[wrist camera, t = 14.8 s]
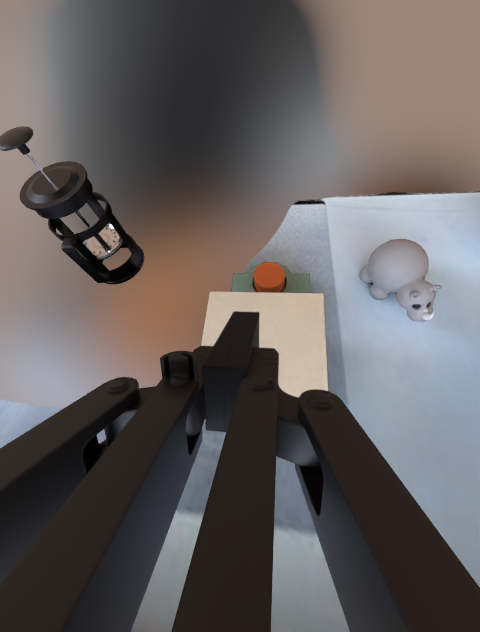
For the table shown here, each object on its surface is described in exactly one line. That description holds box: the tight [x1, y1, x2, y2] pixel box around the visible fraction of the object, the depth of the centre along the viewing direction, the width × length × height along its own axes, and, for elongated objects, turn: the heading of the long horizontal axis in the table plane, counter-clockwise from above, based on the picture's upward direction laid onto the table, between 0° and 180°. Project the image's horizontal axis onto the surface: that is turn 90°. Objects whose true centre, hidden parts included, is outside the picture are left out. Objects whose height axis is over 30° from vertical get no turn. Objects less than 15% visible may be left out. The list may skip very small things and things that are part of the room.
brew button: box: [253, 262, 285, 293], centre depth 39 cm, size 4×4×2 cm
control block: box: [231, 262, 310, 293], centre depth 41 cm, size 12×9×4 cm
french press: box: [0, 127, 144, 284], centre depth 40 cm, size 12×9×23 cm
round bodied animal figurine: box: [360, 239, 442, 322], centre depth 36 cm, size 7×12×8 cm, turn 12°
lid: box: [201, 292, 328, 398], centre depth 27 cm, size 14×13×1 cm
